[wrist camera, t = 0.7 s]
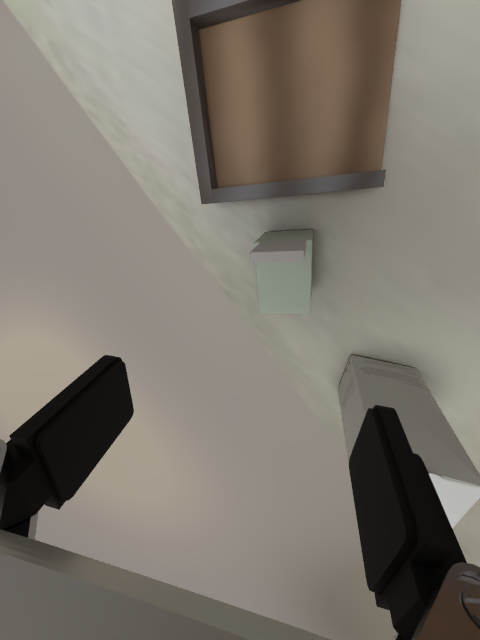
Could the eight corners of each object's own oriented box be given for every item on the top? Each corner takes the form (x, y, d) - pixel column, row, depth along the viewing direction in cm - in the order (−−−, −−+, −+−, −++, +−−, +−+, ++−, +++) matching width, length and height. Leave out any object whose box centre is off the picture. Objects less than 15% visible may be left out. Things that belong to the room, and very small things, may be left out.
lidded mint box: (313, 227, 29) (310, 250, 19) (311, 288, 32) (309, 334, 22) (267, 230, 30) (243, 252, 20) (270, 288, 33) (250, 332, 23)
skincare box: (336, 388, 37) (347, 504, 24) (351, 350, 34) (372, 458, 21) (400, 404, 36) (449, 537, 22) (421, 366, 33) (494, 493, 19)
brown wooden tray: (396, -26, 20) (417, -82, 15) (372, 186, 26) (383, 186, 22) (197, 31, 24) (171, 0, 20) (217, 201, 30) (201, 204, 26)
